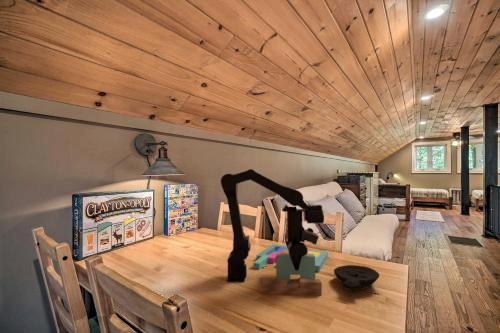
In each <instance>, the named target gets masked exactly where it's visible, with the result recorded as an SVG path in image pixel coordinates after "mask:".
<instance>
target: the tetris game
mask: <svg viewBox="0 0 500 333" xmlns="http://www.w3.org/2000/svg"><path fill="white" fill-rule="evenodd" d="M276 253H286V254H289V252H288V248H287V246H286V245H283V244H275V243H272V244H271V245H269V246H268V247H266V248H265V249H263V250H262V251H261V252H259V253H258V254H256V256H255V258H256V259H255V261H254V262H253V266H252V267H253V269H257V270H260V269H262V268H264V266H265V265H267V264H269V263H270V264H274V265H275V264H276ZM308 254H314V256H315V272H319V273H320V271H321V270H322V268H323V267H324V264H325V263H326V261H327V260H328V257H329V251H326V250H318V249H311V248H308Z"/></svg>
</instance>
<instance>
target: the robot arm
mask: <svg viewBox="0 0 500 333" xmlns="http://www.w3.org/2000/svg"><path fill="white" fill-rule="evenodd" d="M248 181H252V182H254V184H255V183H256V184H258V185H260V186H261V187H264V188H265V189H267V190H269V191H271V192H273V193H275V194H277V195H278V196H279V197H281V199H283V200H284V201H286V202H287V203H288V204H290V205H291V206H288V205H287V204H285V205H284V206H283V207H282V208H281V211H282V212H284V213H285V212H286V232H285V233H284V243H285V246H287V248H288V252H289V255H290V258H291V260H292V263H293V266H294V268H295V270H296V271H298V270H299V266H300V262H301V258H302V257H303V256H304V255H306V254H308V249H309V248H308V246H307V245H306V244H305V242H309V243H311V244H313V245H316V246H317V243H318V241H319V237H320V236H319V235H318V234H317V233H316V232H314V229H313V228H311V227H308V228H307V229H305V227H304V226H303V222H304V221H305V222H306V224H324V221H325V215H324V211H323V206H322V205H321V204H316V205H315V204H313V205H309V204H307V203H306V201H305V200H304V196H303V194H302V192H301V191H299V190H298V189H295V188H292V187H290V186H286V185H285V186H284V185H282V184H280V183H278V182H276V181H274V180H272V179H270V178H268V177H266V176H264V175H263V174H261V173H259V172H257V171H255V169H252V168H249V169H247V170H245V171H242V172H237V173H235V174H234V173H225V174H224V175H223V176H222V177H221V179H220V186H221V188H222V191H223V194H224V195H225V198H226V199H227V206H228V212H229V217H230V223H231V230H232V234H233V239H232V240H233V241H232V242H233V243H232V250H231V251H230V252H229V255H228V257H227V261H226V262H227V277H226V282H228V283H229V282H231V283H232V282H233V283H234V282H235V283H237V282H239V283H240V282H241V283H244V282H245V281H246V279H247V276H248V275H247V264H246V260H247V258H248V257H249V254H250V251H251V248H252V244H251V243H250V235H246V234H245V231H244V226H243V221H242V216H241V209H240V205H239V204H240V203H239V198H238V194H239V193H238V192H239V184H240V183H243V182H248ZM297 207H299V208H297Z"/></svg>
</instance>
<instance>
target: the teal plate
mask: <svg viewBox="0 0 500 333" xmlns="http://www.w3.org/2000/svg"><path fill="white" fill-rule="evenodd" d="M275 272H276V273H275V277H276V278H275V279H286V280H287V282H290V281H291V276H292V275H293V276H299V279H316V271H315V256H314V254H306V255H304V256H303V257H302V258H301V262H300V266H299V270H298V271H296V270H295V268H294V266H293V263H292V260H291V258H290V255H289V254H286V253H276V262H275Z"/></svg>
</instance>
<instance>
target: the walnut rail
mask: <svg viewBox="0 0 500 333" xmlns="http://www.w3.org/2000/svg"><path fill="white" fill-rule="evenodd" d="M298 281H299V284H288V281H287V280H286V279H276V278H273V277H272V278H271V277H270V278H269V277H268V278H267V277H265V278H262V277H260V278H259V294H260V295H261V294H262V295H294V296H295V295H300V296H301V295H304V296H307V295H309V296H310V295H311V296H322V295H323V293H322V289H323V286H322V285H323V284H322V282H323V281H321V279H320V278H315V279H300V278H299V279H298Z"/></svg>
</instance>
